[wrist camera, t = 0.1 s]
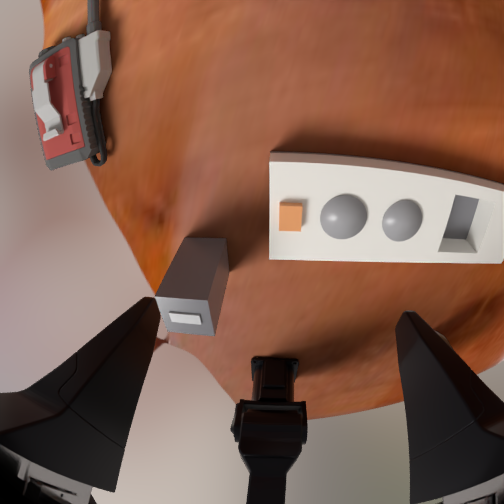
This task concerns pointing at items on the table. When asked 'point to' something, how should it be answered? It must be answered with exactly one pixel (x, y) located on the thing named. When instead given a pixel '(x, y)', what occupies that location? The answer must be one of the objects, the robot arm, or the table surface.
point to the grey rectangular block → (195, 286)
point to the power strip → (381, 211)
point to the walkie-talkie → (72, 95)
